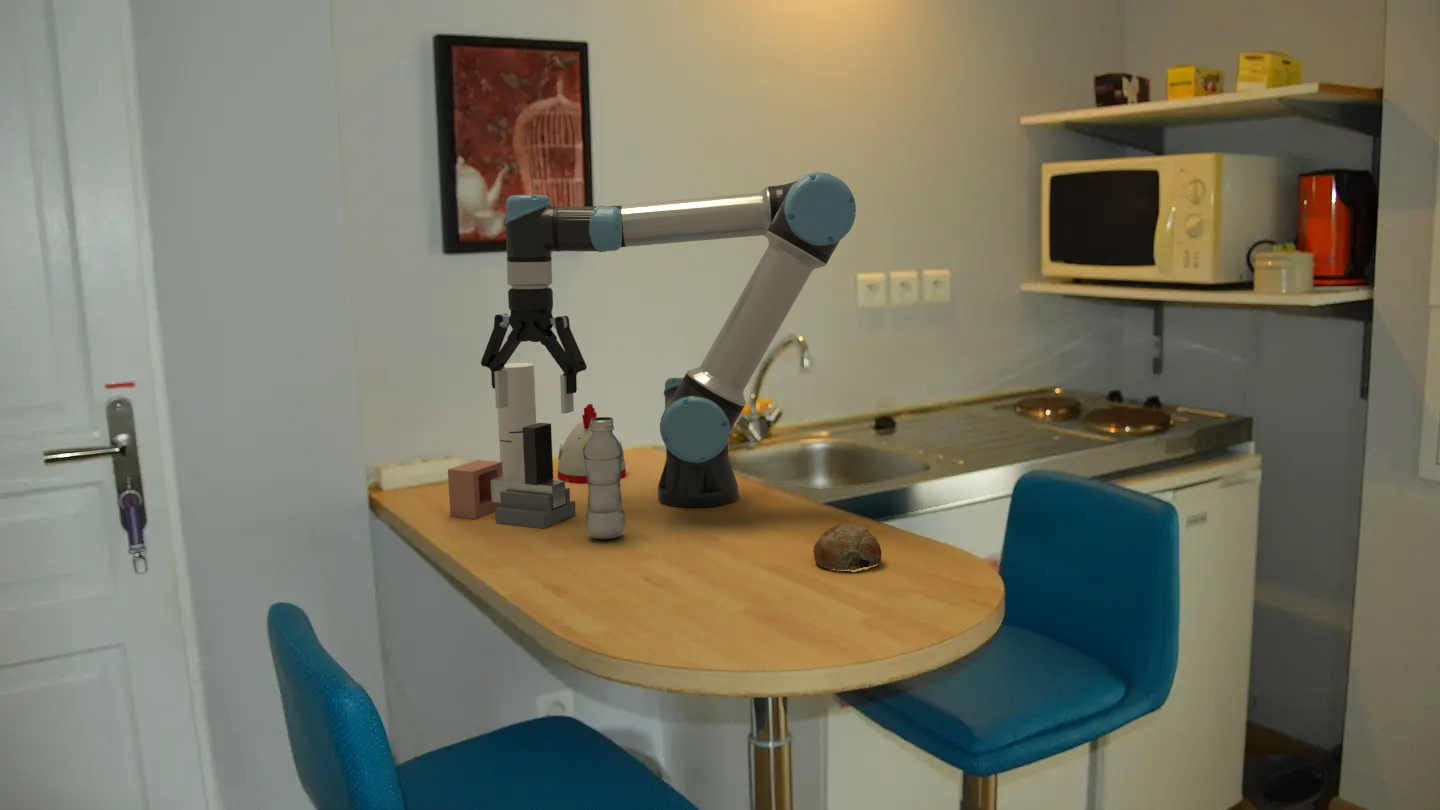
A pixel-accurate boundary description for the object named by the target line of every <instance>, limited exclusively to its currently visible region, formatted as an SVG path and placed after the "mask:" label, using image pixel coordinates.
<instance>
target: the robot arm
mask: <svg viewBox="0 0 1440 810" xmlns="http://www.w3.org/2000/svg"><path fill="white" fill-rule="evenodd" d="M856 205H857V204H856V199H855V196H854V194H853V192H852V190H851V189H850V187H849V186H848V184H846V182H845V181H843V180H842V179H840V178H839V177H837V176H835V175H832V174H830V173H827V172H819V171H818V172H812V173H808V174H806V175H803V176H802V177H800V178H798V179H797V180H795V181H792V182H788V183H785V184H779V185H771V186H769V185H768V186H765V187H764V188H763V190H762V191H760V192H757V193H745V194H734V195H721V196H720V195H719V196H711V197H710V196H709V197H699V198H690V199H689V198H687V199H676V200H667V201H666V200H665V201H655V202H654V201H653V202H642V203H631V204H622V205H609V206H605V205H596V206H563V207H561V206H555V205H554V206H552V203H551V200H550V197H549V196H548V195H545V194H544V195H543V194H514V195H510V196H509V197H507V199H506V201H505V221H504V225H505V240H506V241H505V246H506V271H507V273H506V274H507V275H506V276H507V278H506V279H507V280H506V281H507V282H506V283H507V285H508V286H511V288H509V289H508V290H507V294H508V295H507V296H508V297H507V298H508V299H507V300H508V302H507V303H508V309H509V310H510V314H509V315H508V314H507V313H500V314H495V315H494V319H493V320H494V322H493V328H492V331H491V334H490V337H489V339H488V342H487V345H486V347H485V350H484V353H483V356H482V358H481V361H480V365H481V366H482V367H484V368H487V369H489V370H490V372H491V375H490V376H491V387H492V389H494V392H495V393H494V394H495V395H494V397H495V409H498V408H499V409H500V408H504V407H508V406H509V403H508V376H507V370H502V369H504V368H505V367H504V366H505V364H506V363H508V361H509V360H510V359H511V356H513V354H514V352H515V351H516V350H517V349H518V347H519V345H520V344H521V343H522V342H532V343H538V342H539V343H540V344H541V345H543V346H544V347H545V348H546V350H547V351H548V353H549V354H550V356H552V359H554V361H555V363H556V364H557V365H558V366H559V368H560V369H561V371H562V372H563V374H561V375H560V378H559V379H560V380H559V381H560V384H559V385H560V408H561V409H560V410H561V411H560V413H561V414H568V413H572V412H574V410H575V409H574V394H576V393H577V390H578V387H577V386H578V385H577V383H578V382H577V375H578V373H580V372H582V371H585V370H587V368H588V365H587V364H586V362H585V359H584V356H583V355H582V352H581V349H580V347H579V346H578V343H577V342H576V339H575V337H574V333H573V332H572V329H571V325H570V318H569V316H567V315H561V316H555V317H554V316H553V313H552V312H553V307H554V293H553V292H554V290H553V289H552V288H551V287H549V286H550V285H552V283H553V267H552V263H553V260H552V252H598V253H605V252H615V251H618V250H620V248H627V247H628V248H629V247H640V246H641V247H642V246H652V245H664V244H666V245H667V244H673V243H675V244H676V243H687V242H689V243H690V242H698V241H699V242H700V241H711V240H712V241H713V240H722V239H724V240H726V239H737V238H747V237H759V236H761V237H762V236H764V237H765V238H767V240H768V246H767V248H766V249H765V251H764V253H763V255H762V256H761V258H760V260H759V262H758V263H757V266H756V268H755V269H754V270H753V273H752V274H751V276H750V278H749V280H748V282H747V283H746V284H745V286H744V288H743V290H742V291H741V294H740V295H739V296H738V297H739V298H738V299H737V301H736V302H735V304H734V306H733V307H732V310H731V311H730V313H729V315H728V317H727V318H726V320H725V322H724V324H723V326H722V328H721V329H720V331H719V333H718V334H717V336H716V338H715V340H714V341H713V343H712V344H711V346H710V349H709V350H708V352H707V354H706V356H705V357H704V359H703V361H702V363H701V364H700V366H698V367H696V368H692V369H689V370H687V372H686V373H685V374H684V376H683V377H670V378H667V379H666V380H665V382H664V390H663V396H664V411H663V413H662V416H661V418H660V422H659V431H660V432H659V433H660V437H661V440H662V441H663V444H664V446H665V448H666V449H665V452H666V454H665V455H666V457H665V463H664V466H663V469H662V473H661V476H660V479H659V482H658V486H657V499H658V501H659V502H661V503H662V504H665V505H669V506H674V507H675V506H676V507H681V508H683V507H685V508H708V507H716V506H722V505H727V504H731V503H733V502H735V501H737V500H738V498H739V484H738V481H737V478H736V476H735V472H734V470H733V467H732V465H731V461H730V457H729V438H730V437H731V435H730V434H731V431H732V429H733V427H734V426H735V424H736V422H737V420H738V418H739V417H740V416H741V413H742V411H743V410H744V408H745V406H746V404H747V402H746V399H745V396H744V391H745V389H746V387H747V385H748V384H749V382H750V380H751V378H752V377H753V375H754V373H755V371H756V369H757V368H758V366H759V365H760V362H761V361H762V359H763V357H764V355H765V354H766V353H767V351H768V348H769V347H770V346H771V343H772V342H773V339H774V338H775V336H776V335H777V333H778V332H779V329H780V327H781V326H782V324H783V323H784V321H785V319H786V317H787V316H788V314H789V312H790V310H791V308H792V307H793V305H794V303H795V302H796V301H797V299H798V297H799V294H800V293H801V291H802V289H803V288H804V286H805V285H806V282H807V281H808V279H809V278H810V276H811V274H812V272H813V271H814V270H815V269H819V268H822V267H826V266H827V264H828V263H829V260H830V259H831V257H832V255H833V253H835V250H836V248H837V246H838V245H839V243H840V242H841V240H842V239H843V238H845V237H846V235H848V234H849V232H850V231H851V229H852V227H853V225H854V223H855V219H856V216H857V215H856V212H857V206H856ZM509 326H510V327H511V328H512V330H511V332H510V333H509V334H508V336H507V337H506V334H507V332H508V328H509ZM552 328H554V329H555V330H556V333H557V336H558V337H557V336H556V335H555V332H554V331H553V330H552ZM505 337H506V338H507V340H505V342H504V339H505ZM558 338H559V341H560V342H559V341H558ZM503 342H504V344H503ZM560 343H561V344H560Z"/></svg>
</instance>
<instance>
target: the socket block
mask: <svg viewBox="0 0 1440 810" xmlns="http://www.w3.org/2000/svg"><path fill="white" fill-rule="evenodd" d="M447 476H448V477H447V479H448V497H449V513H450V514H449V516H450V517H455V518H463V519H472V520H477V519H479V518H482V517H484V516H487V515H490V514H492V513H495V509H497V508H499V507H501V503H498V502H492V498H491V480H492V479H495V478H497V477H500V476H503V467H502V462H500V461H496V460H495V461H494V460H485V459H484V460H482V459H476V460H473V461H470V462H467V463H464V464H460V465H456V466H454V467H451V468H448V469H447Z"/></svg>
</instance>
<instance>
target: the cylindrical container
mask: <svg viewBox="0 0 1440 810" xmlns="http://www.w3.org/2000/svg"><path fill="white" fill-rule="evenodd" d="M534 365H535V364H534V363H532V362H510V363H508V362H507V363H506V364H505V366H504V367H505V368H504V369H502V370H507V376H508V403H509V406H508V407H504V408H500V409H499V408H497V419H498V423H497V424H498V437H499V438H498V439H499V460H500V461H499V462H502V467H503V475H507V476H518V477H525V470H524V448H523V427H526V426H530V425H533V424H536V423H537V410H536V409H537V407H536V406H537V405H536V387H535V385H536V383H535V366H534Z"/></svg>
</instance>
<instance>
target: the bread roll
mask: <svg viewBox="0 0 1440 810" xmlns="http://www.w3.org/2000/svg"><path fill="white" fill-rule="evenodd" d="M812 552H813V558H814V562H815V563H816V564H818V566H819V565H820V566H821V567H824V568H823V569H826V568H827V569H826V570H828V569H835V570H846V569H847V570H848V569H849V570H856V569H859V568H863V567H870V566H873V565H876V564H878V563H879V564H880V563H881V560H882V548H881V545H880V543H879V541H878V539H877V538H876V537H875V536H874V535H873V534H872V533H870V532H869V530H868V528H867V527H864V526H860V525H858V524H855V523H848V522H842V523H839V524H835V525H834V526H831V527H830V528H828V529H827V530H825V532H823V533H822V534H820V536H819V538H818V539H817V540H816V541H815V543H814V545H813V550H812ZM820 566H819V567H820ZM821 567H820V568H821Z"/></svg>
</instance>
